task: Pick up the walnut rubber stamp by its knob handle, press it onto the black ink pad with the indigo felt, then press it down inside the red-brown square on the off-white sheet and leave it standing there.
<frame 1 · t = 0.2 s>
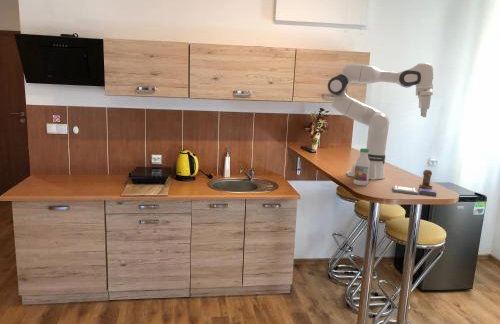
hand: (423, 116, 226), 39 cm above the table, tool pointing down, fingers open, 8 cm apart
milk bottle: (360, 184, 220), on the table
ink pad: (427, 193, 207), on the table
target board: (404, 191, 211), on the table
stamp: (425, 189, 216), on the table
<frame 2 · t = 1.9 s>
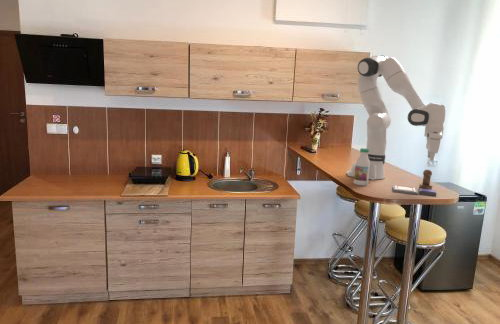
hand: (430, 159, 212), 17 cm above the table, tool pointing down, fingers open, 8 cm apart
nothing on the table moved.
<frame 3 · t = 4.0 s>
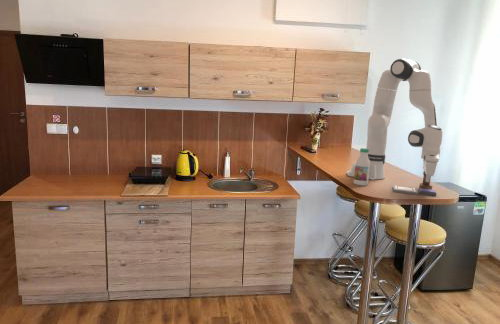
hand: (426, 180, 215), 5 cm above the table, tool pointing down, fingers closed on stamp, 4 cm apart
stamp: (425, 189, 216), on the table, touching gripper
everything else where it was.
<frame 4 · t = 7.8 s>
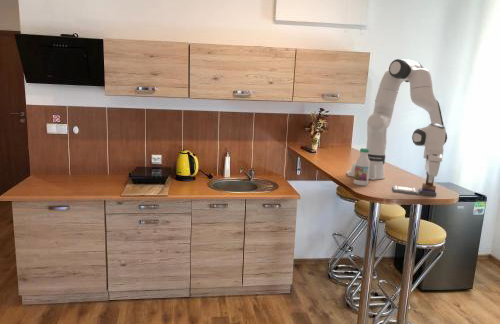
hand: (429, 181, 206), 7 cm above the table, tool pointing down, fingers closed on stamp, 4 cm apart
stamp: (428, 190, 207), point 2 cm above the table, touching gripper, ink pad
everything else where it was.
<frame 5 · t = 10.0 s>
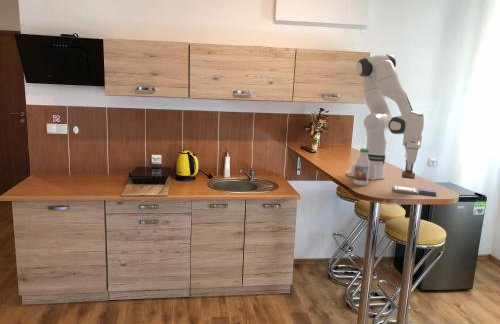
hand: (408, 168, 208), 12 cm above the table, tool pointing down, fingers closed on stamp, 4 cm apart
stamp: (407, 177, 209), point 7 cm above the table, touching gripper
everything else where it was.
when the fingers open (6 cm above the table, at t = 11.7 s): stamp stays where it is, resting on target board.
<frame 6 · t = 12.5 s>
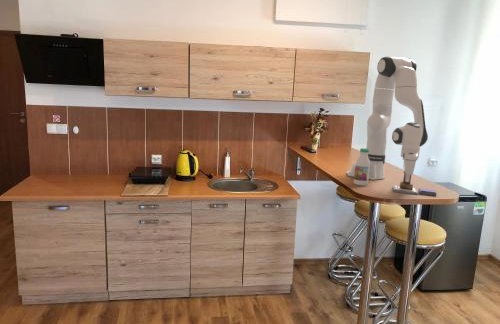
hand: (406, 179, 209), 6 cm above the table, tool pointing down, fingers open, 8 cm apart
stamp: (405, 188, 210), point 1 cm above the table, touching target board
everything else where it was.
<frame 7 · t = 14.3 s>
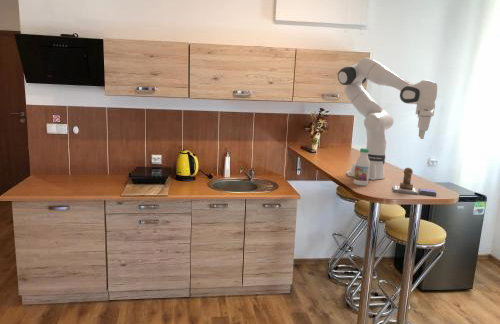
hand: (420, 137, 210), 28 cm above the table, tool pointing down, fingers open, 8 cm apart
nothing on the table moved.
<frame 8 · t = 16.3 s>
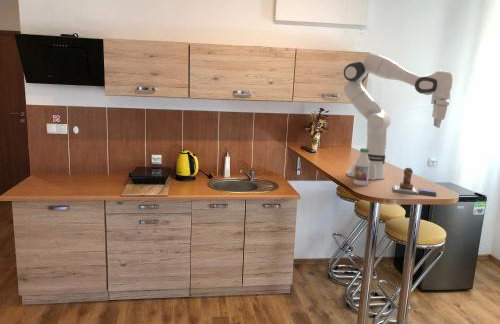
hand: (436, 126, 216), 34 cm above the table, tool pointing down, fingers open, 8 cm apart
nothing on the table moved.
at the end: stamp 0.4 cm off-centre on the target board, point 1.4 cm above the target board's base; stamp tilted 0°; the gripper is holding nothing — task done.
